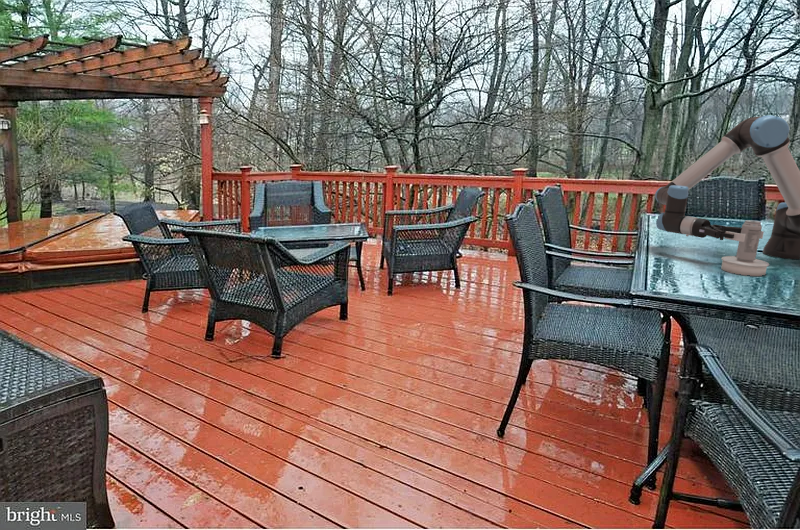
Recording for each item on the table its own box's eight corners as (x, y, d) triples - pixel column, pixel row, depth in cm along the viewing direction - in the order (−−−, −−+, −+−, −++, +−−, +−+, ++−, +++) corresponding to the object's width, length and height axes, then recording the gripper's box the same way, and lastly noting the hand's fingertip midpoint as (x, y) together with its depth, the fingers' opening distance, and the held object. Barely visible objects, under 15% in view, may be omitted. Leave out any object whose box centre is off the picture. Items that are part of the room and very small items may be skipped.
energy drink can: (748, 259, 193) (756, 220, 189) (758, 262, 187) (766, 223, 183) (732, 258, 193) (739, 219, 189) (741, 262, 187) (749, 222, 183)
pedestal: (752, 267, 197) (754, 257, 196) (776, 277, 183) (778, 266, 182) (712, 265, 199) (714, 255, 198) (732, 275, 184) (734, 264, 183)
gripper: (711, 233, 211) (767, 243, 193) (676, 238, 198) (734, 249, 181) (714, 216, 209) (771, 224, 191) (679, 219, 196) (738, 229, 179)
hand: (753, 236), depth 186 cm, fingers open, 13 cm apart
